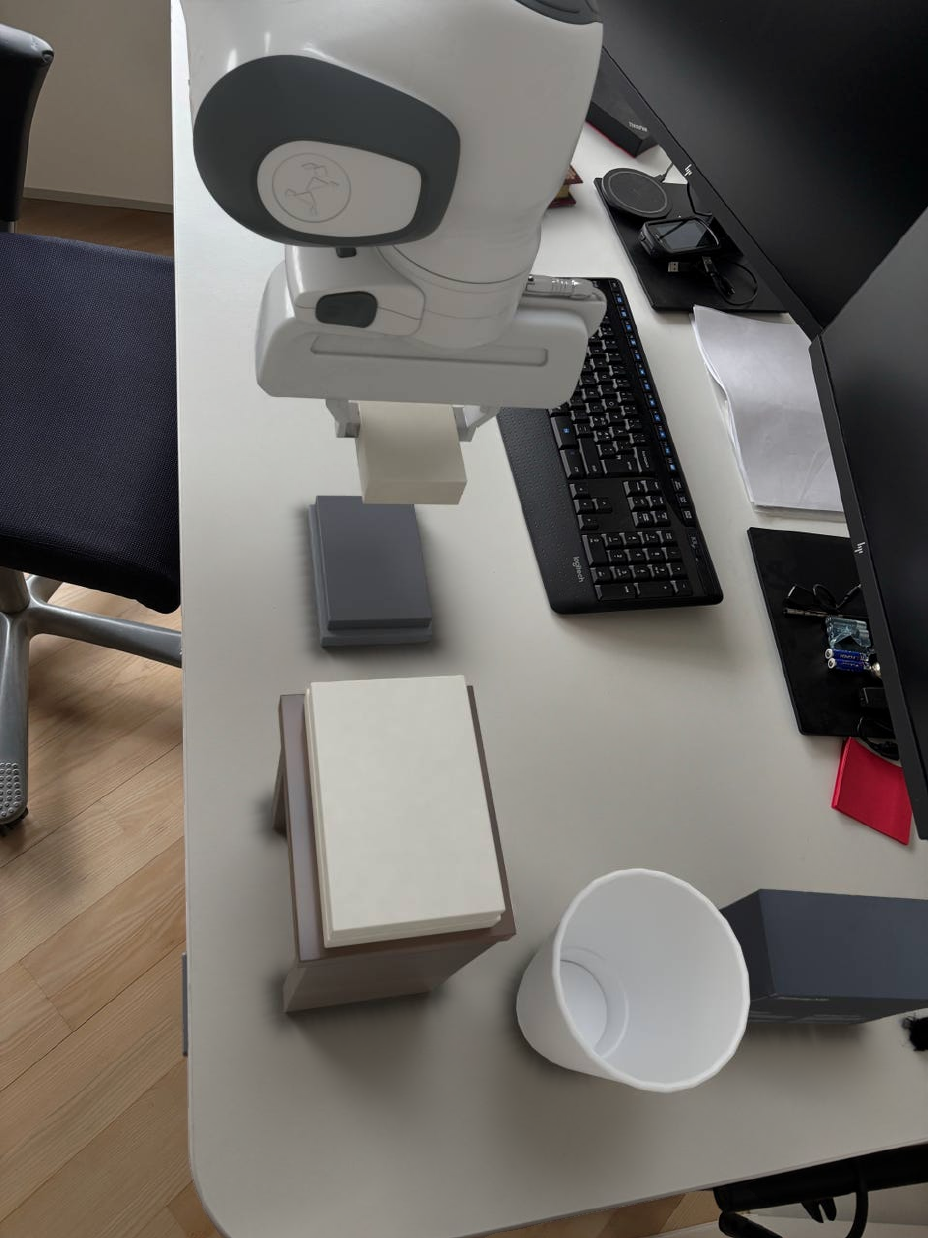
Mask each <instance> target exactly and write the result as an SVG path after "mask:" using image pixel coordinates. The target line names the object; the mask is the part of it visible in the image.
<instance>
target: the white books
mask: <svg viewBox="0 0 928 1238" xmlns="http://www.w3.org/2000/svg"><path fill="white" fill-rule="evenodd" d="M467 686H468V685H467V681H466V676H465V674H458V675H457V674H456V675H439V676H436V675H435V676H416V677H397V678H395V677H394V678H375V679H374V678H373V679H353V680H332V681H331V680H330V681H313V682H311V683H310V686H309V688H306V689H305V694H306V695H305V700H304V709H305V721H306V733H307V745H308V756H309V768H310V780H311V792H312V804H313V816H314V828H315V840H316V852H317V863H318V875H319V887H320V899H321V911H322V923H323V935H324V946H325V948H330V947H338V946H346V945H354V944H362V943H370V942H377V941H385V940H393V939H401V938H409V937H417V936H425V935H432V934H440V933H448V932H456V931H464V930H472V929H480V928H488V927H492V926H493V925H495V924H496V923H497V922H498V921H500V920H501V916H500V914H501V913H503V912H504V911H505V904H504V898H503V892H502V886H501V881H500V875H499V869H498V864H497V858H496V852H495V846H494V841H493V835H492V829H491V823H490V818H489V812H488V806H487V800H486V795H485V789H484V783H483V778H482V772H481V766H480V760H479V755H478V749H477V743H476V737H475V732H474V726H473V720H472V715H471V709H470V703H469V697H468V692H467Z"/></svg>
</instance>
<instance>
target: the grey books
mask: <svg viewBox="0 0 928 1238" xmlns="http://www.w3.org/2000/svg"><path fill="white" fill-rule="evenodd" d="M307 518H308V528H309V529H308V530H309V539H310V549H311V557H312V558H311V559H312V570H313V571H312V572H313V581H314V590H315V602H316V612H317V620H318V621H317V622H318V632H319V642H320V647H343V646H367V645H368V646H372V645H397V644H399V645H400V644H424V643H429V642H430V639H431V638H432V635H433V630H432V624H431V622H432V620H433V612H432V607H431V601H430V600H431V599H430V596H429V595H430V594H429V588H428V583H427V576H426V571H425V570H426V569H425V564H424V558H423V551H422V546H421V540H420V532H419V527H418V520H417V515H416V508H415V504H364V503H363V499H362V495H316V496H315V501H314V504H311V503H309V506H308V514H307Z"/></svg>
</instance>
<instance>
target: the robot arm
mask: <svg viewBox="0 0 928 1238" xmlns="http://www.w3.org/2000/svg"><path fill="white" fill-rule="evenodd" d="M179 4H180V7H181V11H182V15H183V19H184V24H185V25H184V26H185V33H186V34H185V35H186V37H185V38H186V49H187V51H186V52H187V64H188V80H187V81H188V82H187V85H188V87H189V90H188V91H189V93H188V98H189V99H188V100H189V111H190V112H189V113H190V122H191V129H192V131H191V133H192V149H193V150H192V151H193V157H194V162H195V165H196V168H197V172H198V174H199V177H200V178H201V181H202V183H203V185H204V187H205V189H206V190H207V192H208V193H209V195H210V196H211V197H212V199H213V201H214V202H215V203H216V204H217V205H218V207H220V208H221V210H222V211H224V213H225V214H227V215H228V216H229V217H230V218H231V219H232V220H234V221H235V222H236V223H238V224H239V225H240V226H242V227H244V228H245V229H246V230H248V231H250V232H251V233H254V234H256V235H258V236H259V237H262V238H264V239H267V240H270V241H273V242H275V243H279V244H282V245H284V259H283V260H282V261H280V263H278V264H277V265H276V266H275V268H273V270H272V271H271V273H270V274H269V276H268V278H267V281H266V283H265V286H264V290H263V293H262V297H261V301H260V305H259V310H258V314H257V319H256V326H255V334H254V347H253V349H254V352H253V353H254V371H255V380H256V384H257V385H258V386H259V387H260V388H261V390H262V391H264V392H265V393H266V395H268V396H270V397H274V398H290V399H291V398H292V399H293V398H294V399H313V400H314V399H315V400H324V402H325V407H326V409H327V410H328V411H329V413H330V414H331V415H332V417H333V419H334V420H333V421H334V423H333V425H334V432H335V438H337V439H355V438H358V434H359V433H358V432H359V430H360V425H361V422H360V415H359V407H358V403H350V400H359V401H382V402H404V403H427V404H450V405H452V406H453V411H454V416H455V421H456V426H457V431H458V437H459V442H460V443H471V442H472V441H473V438H474V435H475V433H476V430H477V429H478V428H480V427H481V426H483V425H485V424H486V423H487V422H489V421H490V420H492V419H493V418H494V417H496V416H497V415H498V414H499V413H500V411H501V409H502V408H518V409H519V408H520V409H521V408H522V409H543V410H544V409H545V410H554V409H556V408H559V407H560V406H562V405H563V404H565V403H566V402H568V401H569V400H571V398H572V396H573V395H574V392H575V390H576V387H577V385H578V382H579V379H580V377H581V373H582V370H583V367H584V363H585V359H586V356H587V352H588V351H587V350H588V345H589V339H590V338H592V337H593V336H594V335H595V334H596V332H597V331H598V329H599V327H600V325H601V323H602V322H603V319H604V317H605V315H606V312H607V306H608V301H607V298H606V297H607V296H606V295H605V293H604V292H603V291H602V290H601V289H599V288H597V287H595V286H594V284H593V281H591V280H588V279H585V278H578V277H572V278H571V277H570V278H569V279H568V278H559V277H554V276H550V275H545V274H534V273H533V274H532V270H533V267H534V264H535V261H536V259H537V256H538V253H539V250H540V247H541V242H542V235H543V234H542V231H543V230H542V229H543V227H542V225H543V219H544V216H545V213H546V210H547V208H549V207H548V205H549V204H550V203H551V202H552V200H553V199H554V198H555V197H556V195H557V194H558V192H559V190H560V189H561V187H562V185H563V183H564V180H565V178H566V175H567V172H568V170H569V167H570V164H571V165H572V161H573V159H574V156H575V152H576V150H577V146H578V144H579V141H580V137H581V136H582V135H581V134H582V132H583V129H584V125H585V122H586V119H587V115H588V112H589V108H590V105H591V101H592V97H593V93H594V90H595V85H596V81H597V77H598V72H599V67H600V62H601V56H602V48H603V42H604V40H603V39H604V23H603V17H602V15H601V13H600V10H599V5H598V3H597V1H596V0H179Z"/></svg>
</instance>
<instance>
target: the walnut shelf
mask: <svg viewBox="0 0 928 1238" xmlns="http://www.w3.org/2000/svg"><path fill="white" fill-rule="evenodd" d="M466 686H467V692H468V697H469V703H470V709H471V715H472V720H473V726H474V732H475V737H476V743H477V749H478V755H479V760H480V766H481V772H482V778H483V783H484V789H485V795H486V800H487V806H488V812H489V818H490V823H491V829H492V835H493V841H494V846H495V852H496V858H497V864H498V869H499V875H500V881H501V886H502V892H503V898H504V904H505V911H504V912H503V913H501V914H500V916H501V920H500V921H498V922H497V923H496V924H495V925H493V926H492V927H488V928H480V929H472V930H464V931H456V932H448V933H440V934H432V935H425V936H417V937H409V938H401V939H393V940H385V941H377V942H370V943H362V944H354V945H346V946H338V947H330V948H325V946H324V935H323V923H322V911H321V899H320V887H319V875H318V863H317V852H316V840H315V828H314V816H313V804H312V792H311V780H310V768H309V756H308V745H307V733H306V721H305V709H304V700H305V695H306V693H294V694H281V695H279V700H278V707H277V710H278V711H277V712H278V725H279V737H280V739H279V741H280V750H279V751H280V752H279V759H278V764H277V771H276V777H275V783H274V790H273V796H272V802H271V822H272V829H283V828H286V839H287V853H288V868H289V882H290V883H289V884H290V897H291V910H292V924H293V925H292V927H293V940H294V955H295V956H294V959H293V961H292V964H291V966H290V968H289V971H288V974H287V976H286V979H285V981H284V983H283V985H282V996H283V997H282V998H283V1012H284V1013H287V1012H288V1013H289V1012H295V1011H296V1012H297V1011H302V1010H310V1009H316V1008H322V1007H330V1006H338V1005H344V1004H351V1003H357V1002H366V1001H372V1000H379V999H385V998H393V997H398V996H406V995H414V994H420V993H427V992H431V991H433V990H434V989H435V988H437V987H438V986H440V985H441V984H443V983H444V982H445V981H447V980H448V979H449V978H451V977H452V976H453V975H455V974H456V973H458V972H459V971H460V970H462V969H463V968H465V967H466V966H467V965H469V964H470V963H471V962H473V961H475V960H476V959H477V958H478V957H480V956H481V955H482V954H484V953H485V952H487V951H488V950H490V949H491V948H492V947H494V946H495V945H497V944H498V943H501V942H507V941H510V940H511V938H513V937H514V936H516V935H517V933H518V931H517V927H516V921H515V916H514V910H513V903H512V897H511V892H510V887H509V882H508V876H507V871H506V865H505V860H504V859H505V858H504V854H503V847H502V842H501V837H500V831H499V824H498V820H497V814H496V809H495V804H494V797H493V792H492V787H491V786H492V785H491V779H490V775H489V769H488V763H487V759H486V752H485V748H484V741H483V735H482V730H481V723H480V719H479V713H478V708H477V707H478V706H477V701H476V697H475V691H474V685H471V684H470V685H466Z"/></svg>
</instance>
